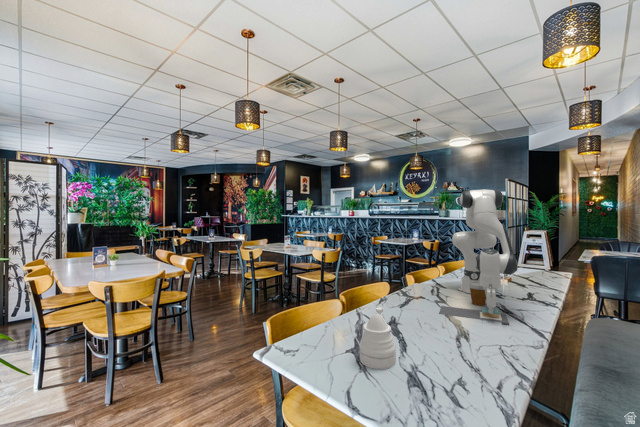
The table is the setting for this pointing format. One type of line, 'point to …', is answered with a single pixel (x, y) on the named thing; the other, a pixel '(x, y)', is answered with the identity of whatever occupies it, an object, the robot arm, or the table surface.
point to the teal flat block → (486, 314)
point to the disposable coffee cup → (477, 294)
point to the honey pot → (377, 343)
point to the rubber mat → (472, 314)
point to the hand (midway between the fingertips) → (490, 310)
